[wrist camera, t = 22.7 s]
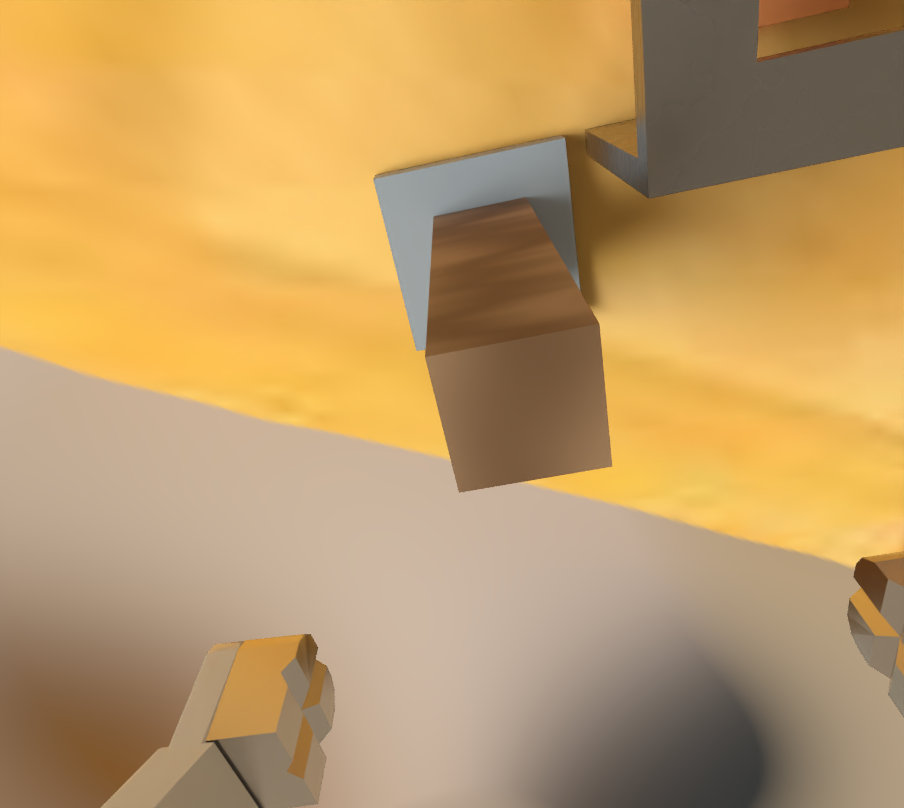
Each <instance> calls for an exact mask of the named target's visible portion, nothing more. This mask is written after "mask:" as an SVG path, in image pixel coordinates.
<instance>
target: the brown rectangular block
mask: <svg viewBox="0 0 904 808" xmlns="http://www.w3.org/2000/svg"><path fill="white" fill-rule="evenodd" d="M425 358H426V362H427V366H428V370H429V374H430V378H431V382H432V386H433V390H434V394H435V398H436V402H437V406H438V410H439V414H440V418H441V422H442V426H443V430H444V434H445V438H446V442H447V446H448V450H449V454H450V458H451V462H452V466H453V470H454V474H455V478H456V482H457V486H458V490H459V492H465V491H471V490H477V489H483V488H489V487H494V486H500V485H506V484H512V483H518V482H524V481H530V480H535V479H541V478H547V477H553V476H559V475H565V474H571V473H577V472H582V471H588V470H594V469H600V468H606V467H612V459H611V448H610V437H609V426H608V415H607V404H606V393H605V382H604V371H603V359H602V348H601V337H600V326H599V322H598V321H597V319H596V317H595V316H594V314H593V312H592V310H591V309H590V307H589V305H588V303H587V302H586V300H585V298H584V297H583V295H582V293H581V291H580V290H579V288H578V286H577V284H576V283H575V281H574V279H573V278H572V276H571V274H570V272H569V271H568V269H567V267H566V265H565V264H564V262H563V260H562V259H561V257H560V255H559V253H558V252H557V250H556V248H555V246H554V245H553V243H552V241H551V240H550V238H549V236H548V234H547V233H546V231H545V229H544V227H543V226H542V224H541V222H540V221H539V219H538V217H537V215H536V214H535V212H534V210H533V208H532V207H531V205H530V203H529V202H528V200H527V198H526V197H523V198H519V199H514V200H509V201H505V202H500V203H495V204H490V205H486V206H481V207H476V208H472V209H467V210H462V211H457V212H453V213H448V214H443V215H439V216H434V217H433V232H432V249H431V266H430V283H429V300H428V318H427V335H426V352H425Z"/></svg>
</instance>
